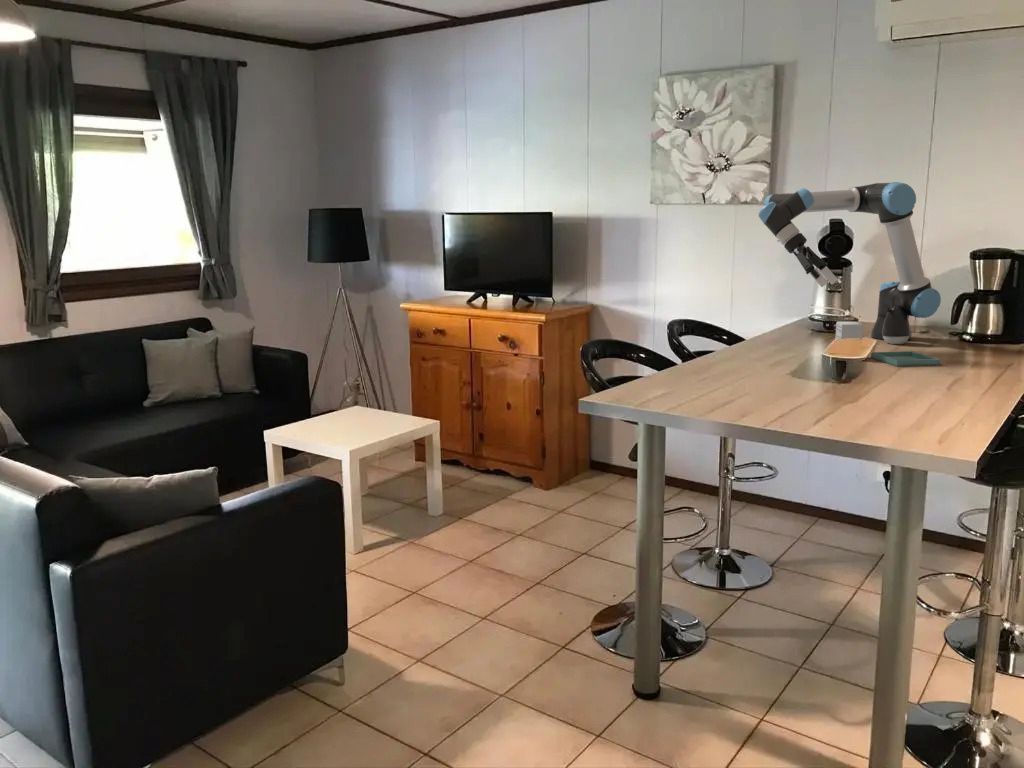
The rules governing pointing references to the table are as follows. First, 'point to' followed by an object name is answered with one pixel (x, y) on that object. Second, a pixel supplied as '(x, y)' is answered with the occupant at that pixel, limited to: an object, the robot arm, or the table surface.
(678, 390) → the table surface
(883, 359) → the tray
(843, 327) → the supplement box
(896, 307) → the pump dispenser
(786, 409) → the table surface
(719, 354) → the table surface
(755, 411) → the table surface
